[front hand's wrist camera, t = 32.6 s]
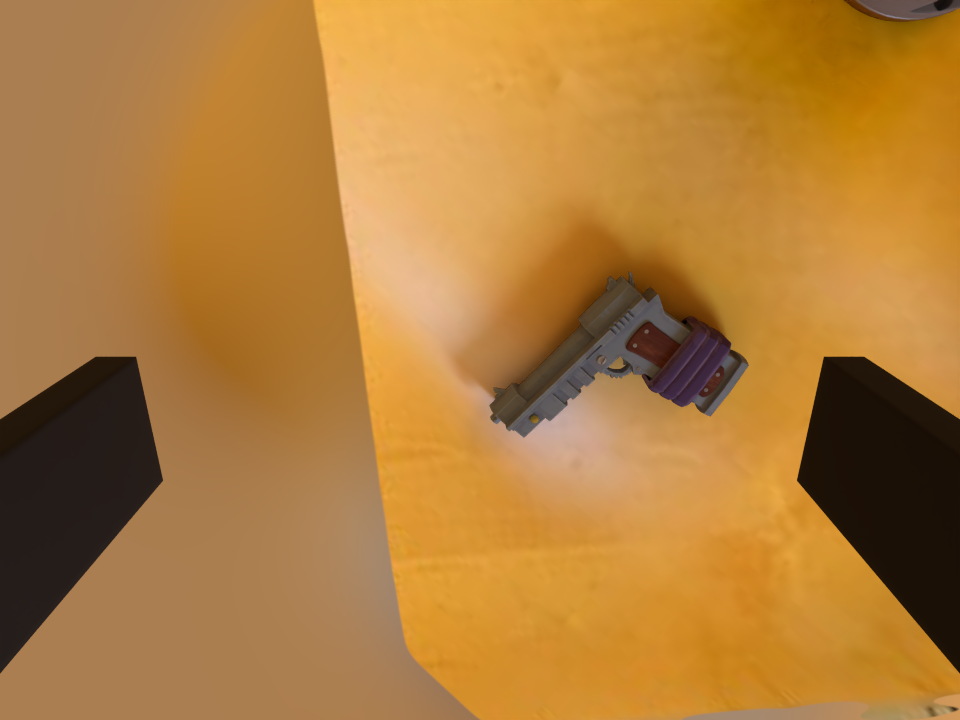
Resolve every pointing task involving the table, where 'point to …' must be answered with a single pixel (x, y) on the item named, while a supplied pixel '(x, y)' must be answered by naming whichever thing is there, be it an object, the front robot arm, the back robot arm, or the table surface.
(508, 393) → the toy gun
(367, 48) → the table surface
